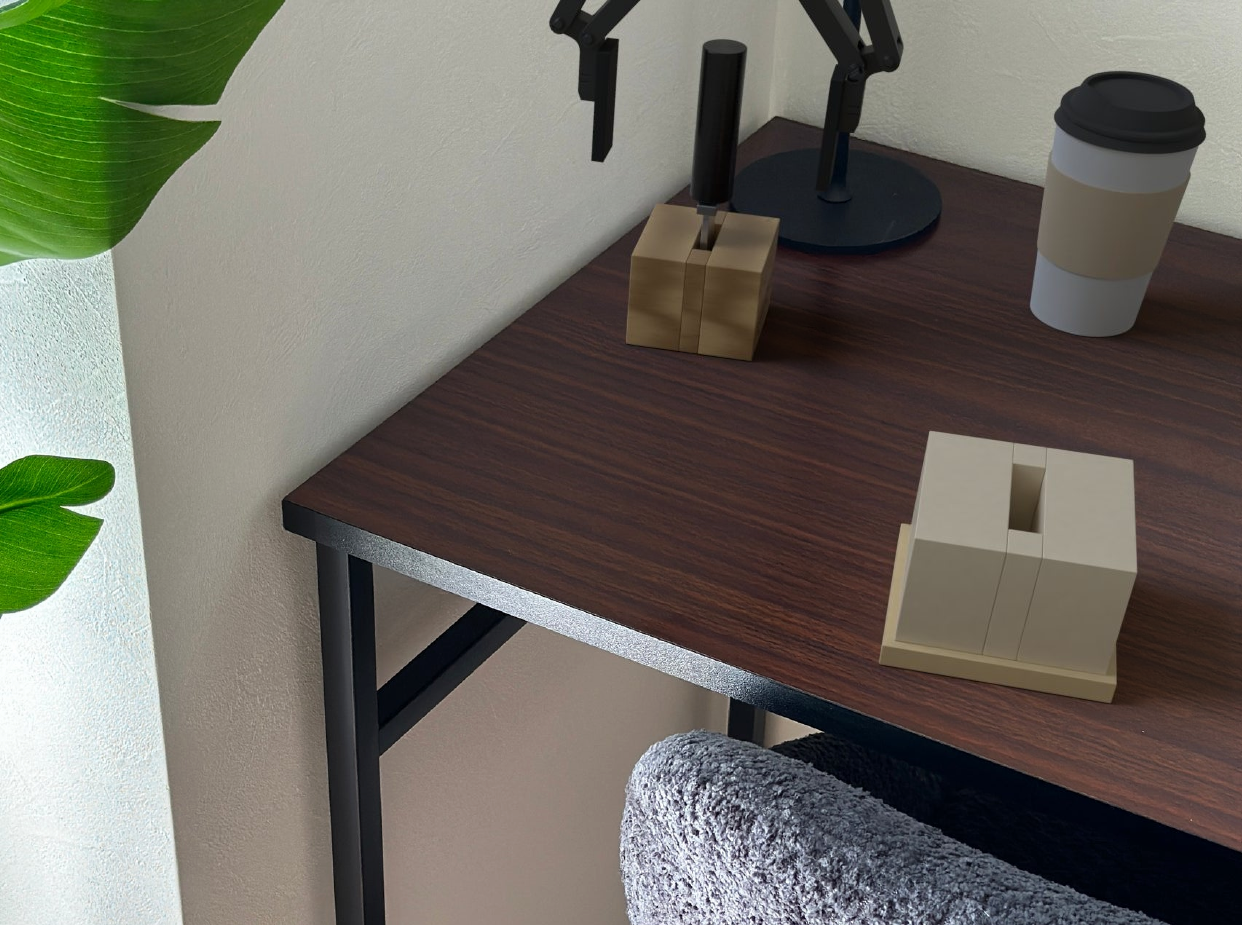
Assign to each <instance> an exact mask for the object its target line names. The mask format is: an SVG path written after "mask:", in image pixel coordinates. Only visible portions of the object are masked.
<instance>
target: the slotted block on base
mask: <svg viewBox="0 0 1242 925" xmlns="http://www.w3.org/2000/svg"><path fill="white" fill-rule="evenodd" d="M1134 465H1135V464H1134V460H1133V459H1129V458H1122V457H1114V456H1108V455H1100V454H1093V453H1086V452H1079V451H1073V450H1067V449H1059V448H1053V447H1046V446H1038V445H1032V444H1025V443H1019V442H1010V441H1005V440H1004V441H1002V440H996V439H990V438H984V437H975V436H969V435H962V434H955V433H947V432H942V431H933V430H929V432H928V437H927V442H926V447H925V452H924V458H923V463H922V466H921V473H920V478H919V482H918V488H917V492H916V498H915V502H914V507H913V513H912V518H911V523H910V524H909V523H901V524H900V527H899V533H898V538H897V544H896V552H895V557H894V562H893V571H892V577H891V581H890V582H891V583H890V589H889V595H888V602H887V608H886V614H885V615H886V616H885V621H884V628H883V634H882V639H881V640H882V641H881V647H880V653H879V660H878V664H879V665H882V666H888V667H894V668H899V669H903V670H904V669H905V670H911V671H916V672H922V673H929V674H935V675H941V676H946V677H953V678H958V679H964V680H971V681H977V682H982V683H986V684H987V683H988V684H993V685H998V686H999V685H1000V686H1004V687H1005V686H1006V687H1011V688H1017V689H1024V690H1029V691H1034V692H1041V693H1047V694H1053V695H1059V696H1066V697H1071V698H1076V699H1083V700H1089V701H1095V702H1101V703H1105V704H1106V703H1107V704H1111V703H1112V701H1113V698H1114V695H1115V692H1116V688H1117V684H1118V682H1117V681H1118V678H1117V677H1118V676H1117V673H1118V672H1117V671H1118V670H1117V640H1118V638H1119V636H1120V635H1119V634H1120V631H1121V628H1122V624H1123V621H1124V618H1125V614H1126V611H1127V608H1128V605H1129V603H1130V602H1129V601H1130V599H1131V595H1132V592H1133V588H1134V585H1135V582H1136V579H1137V575H1138V556H1137V555H1138V554H1137V552H1138V550H1137V549H1138V548H1137V524H1136V523H1137V522H1136V520H1137V519H1136V496H1135V495H1136V494H1135V493H1136V492H1135V468H1134Z"/></svg>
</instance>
